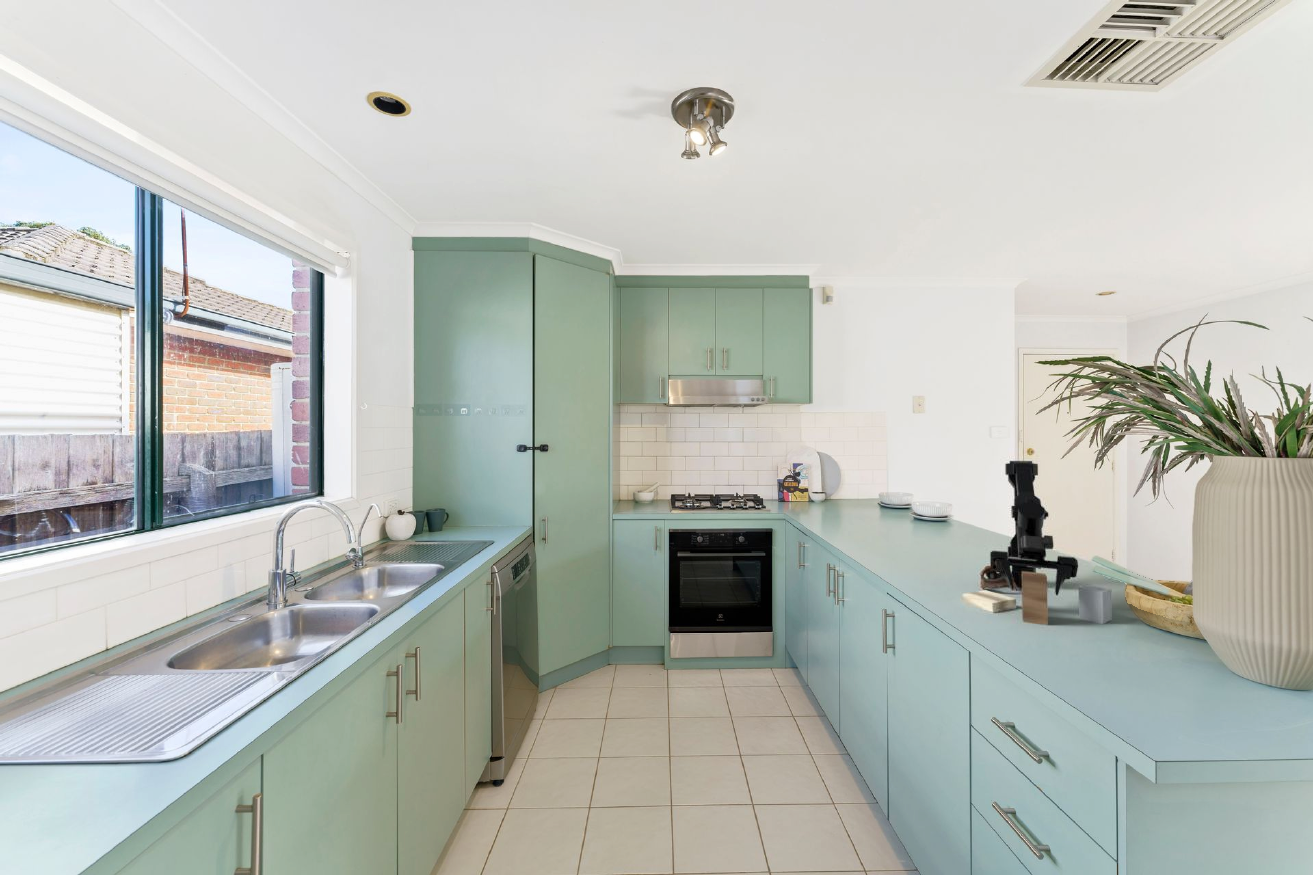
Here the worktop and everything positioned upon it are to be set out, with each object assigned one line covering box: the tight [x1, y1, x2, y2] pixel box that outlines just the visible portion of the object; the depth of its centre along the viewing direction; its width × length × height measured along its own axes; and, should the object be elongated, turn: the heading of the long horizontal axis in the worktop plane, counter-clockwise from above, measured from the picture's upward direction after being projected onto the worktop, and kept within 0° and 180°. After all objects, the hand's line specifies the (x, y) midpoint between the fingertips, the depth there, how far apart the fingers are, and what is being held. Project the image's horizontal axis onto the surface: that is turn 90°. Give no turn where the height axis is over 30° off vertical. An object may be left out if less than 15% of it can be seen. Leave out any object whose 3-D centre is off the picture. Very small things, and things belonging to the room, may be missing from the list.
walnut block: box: [1021, 571, 1049, 626], centre depth 136 cm, size 4×5×12 cm
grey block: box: [1078, 584, 1113, 625], centre depth 136 cm, size 5×5×8 cm
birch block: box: [962, 589, 1017, 614], centre depth 148 cm, size 9×9×3 cm
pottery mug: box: [980, 565, 1018, 592], centre depth 163 cm, size 12×10×8 cm
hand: (1034, 591), depth 135 cm, fingers open, 9 cm apart
